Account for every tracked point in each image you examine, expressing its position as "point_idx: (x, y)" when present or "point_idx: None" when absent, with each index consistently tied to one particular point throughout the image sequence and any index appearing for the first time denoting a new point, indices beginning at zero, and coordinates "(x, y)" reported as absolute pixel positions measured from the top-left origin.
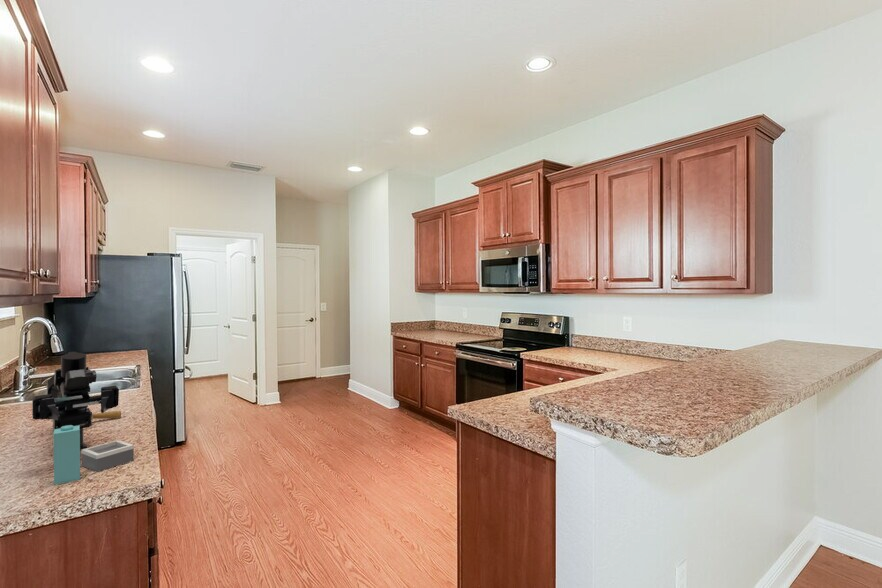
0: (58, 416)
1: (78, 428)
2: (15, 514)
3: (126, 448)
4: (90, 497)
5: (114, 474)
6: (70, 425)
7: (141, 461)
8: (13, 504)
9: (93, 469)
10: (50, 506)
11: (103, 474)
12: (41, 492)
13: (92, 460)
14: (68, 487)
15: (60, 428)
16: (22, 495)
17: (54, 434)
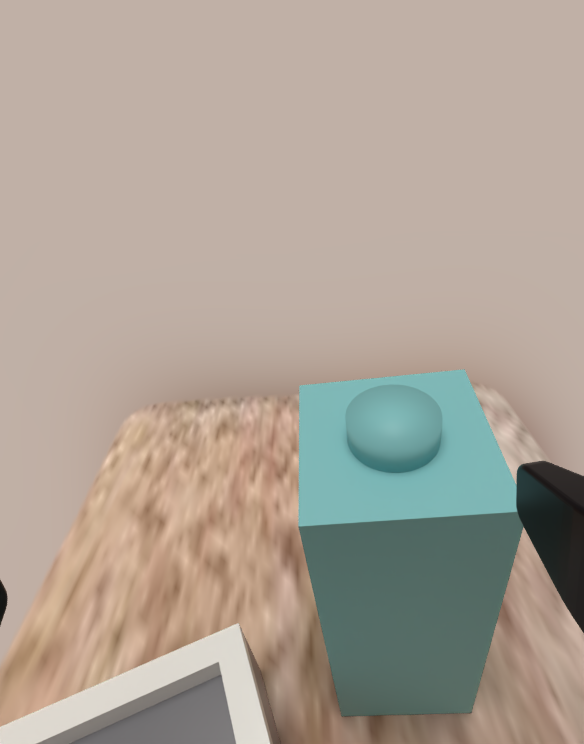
0: (539, 465)
1: (305, 421)
2: (477, 387)
3: (45, 712)
4: (294, 398)
5: (197, 566)
6: (367, 430)
7: (31, 706)
8: (528, 459)
9: (271, 713)
10: None
11: (236, 600)
12: None
13: (264, 705)
14: None
15: (471, 510)
16: None
17: (456, 373)
